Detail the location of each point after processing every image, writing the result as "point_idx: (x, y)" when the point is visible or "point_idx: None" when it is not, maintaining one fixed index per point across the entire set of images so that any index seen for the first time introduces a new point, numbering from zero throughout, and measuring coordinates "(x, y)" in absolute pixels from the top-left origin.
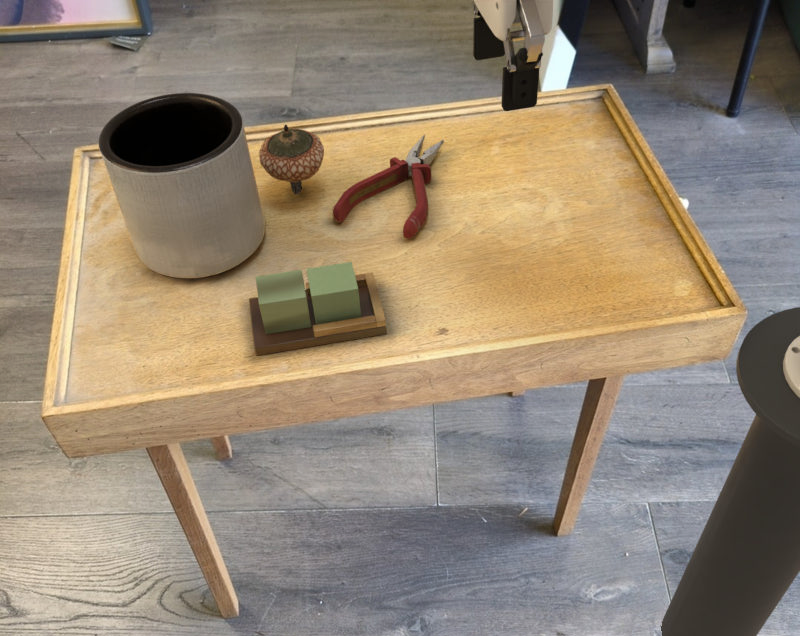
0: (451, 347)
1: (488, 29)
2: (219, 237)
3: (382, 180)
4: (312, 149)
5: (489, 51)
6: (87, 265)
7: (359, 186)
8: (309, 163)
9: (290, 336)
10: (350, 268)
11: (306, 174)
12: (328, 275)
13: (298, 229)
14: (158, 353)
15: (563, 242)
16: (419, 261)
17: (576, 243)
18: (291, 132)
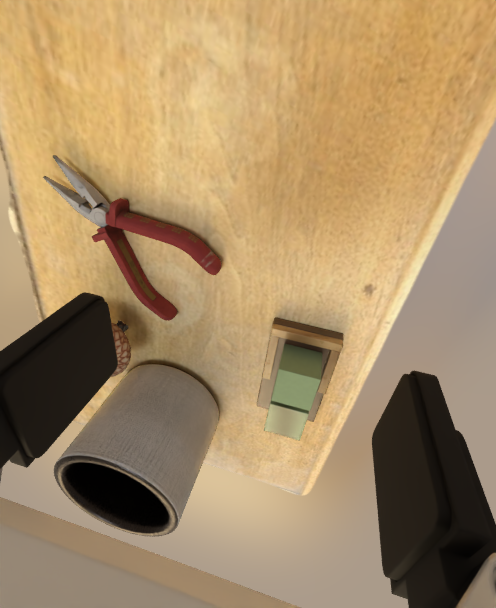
0: (395, 291)
1: (48, 407)
2: (205, 432)
3: (126, 259)
4: None
5: (100, 350)
6: None
7: (137, 289)
8: (118, 346)
9: (314, 400)
10: (288, 374)
11: (127, 345)
12: (288, 391)
13: (175, 340)
14: (280, 453)
15: (294, 67)
16: (256, 266)
17: (305, 45)
18: None
